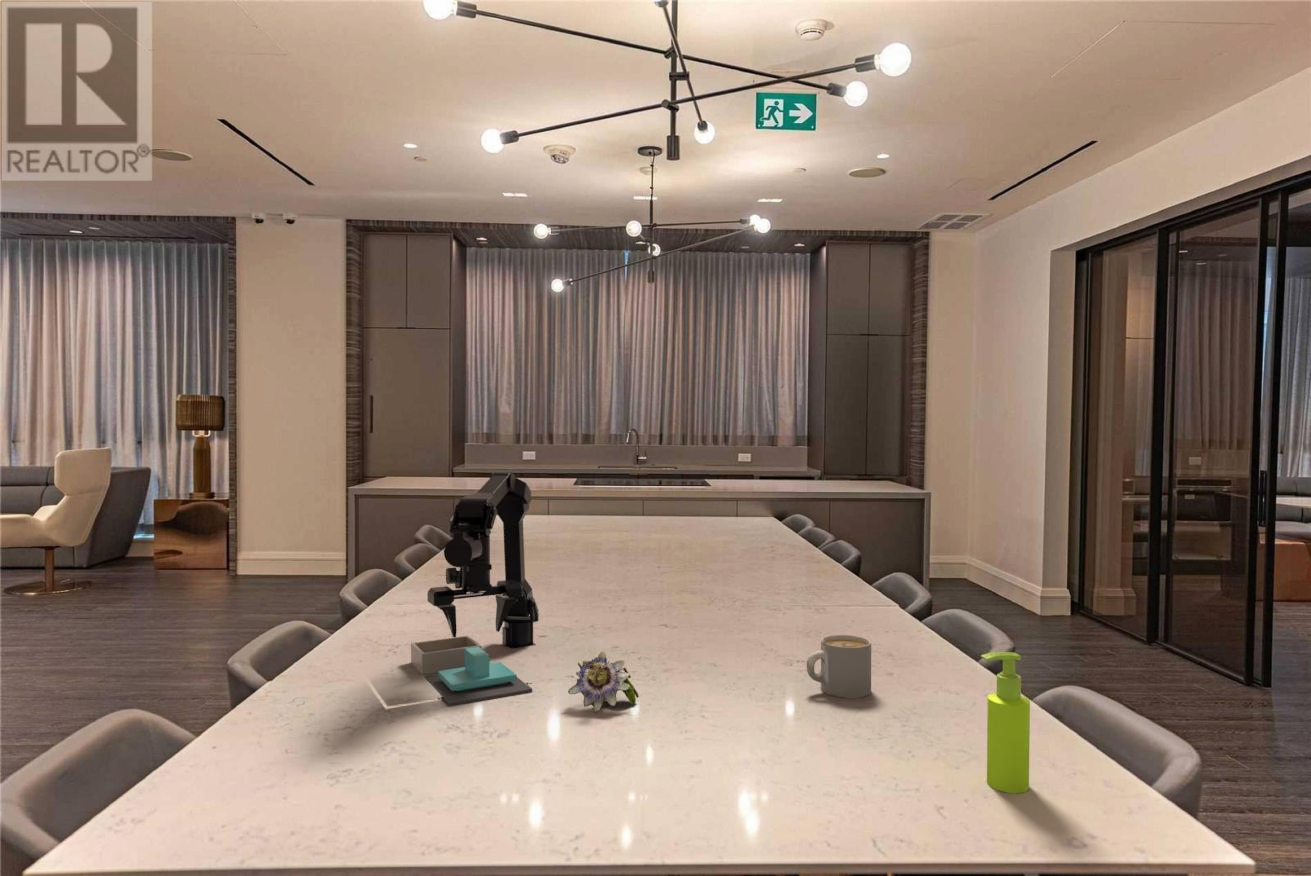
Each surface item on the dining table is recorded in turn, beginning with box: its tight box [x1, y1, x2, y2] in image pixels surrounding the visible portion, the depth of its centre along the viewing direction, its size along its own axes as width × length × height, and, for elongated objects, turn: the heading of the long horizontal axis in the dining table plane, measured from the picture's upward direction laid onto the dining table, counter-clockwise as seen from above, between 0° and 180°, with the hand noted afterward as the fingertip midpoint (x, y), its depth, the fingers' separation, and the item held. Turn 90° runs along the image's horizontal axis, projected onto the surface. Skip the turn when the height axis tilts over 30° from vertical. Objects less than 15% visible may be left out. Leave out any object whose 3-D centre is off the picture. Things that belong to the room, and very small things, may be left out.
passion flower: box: [567, 650, 640, 713], centre depth 163 cm, size 11×11×12 cm
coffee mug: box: [806, 634, 872, 699], centre depth 171 cm, size 13×10×10 cm
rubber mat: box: [423, 673, 533, 707], centre depth 174 cm, size 17×19×1 cm
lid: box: [437, 647, 518, 692], centre depth 174 cm, size 13×10×6 cm
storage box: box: [410, 635, 482, 676], centre depth 187 cm, size 13×10×5 cm
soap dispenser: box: [980, 651, 1031, 794], centre depth 127 cm, size 6×7×20 cm
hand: (476, 634), depth 173 cm, fingers open, 9 cm apart
